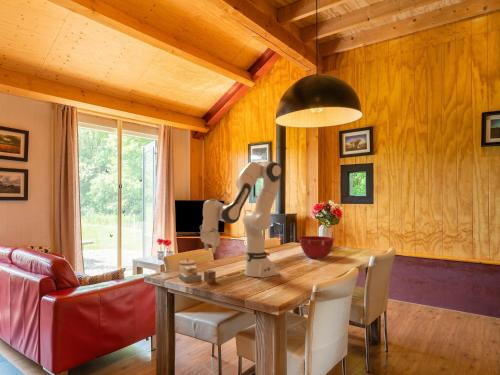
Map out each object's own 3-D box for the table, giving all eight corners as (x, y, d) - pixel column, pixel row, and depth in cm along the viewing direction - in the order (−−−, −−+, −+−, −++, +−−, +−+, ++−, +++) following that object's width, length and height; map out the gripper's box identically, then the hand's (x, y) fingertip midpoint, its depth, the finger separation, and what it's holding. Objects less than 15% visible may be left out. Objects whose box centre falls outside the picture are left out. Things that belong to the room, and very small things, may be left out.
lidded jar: (179, 276, 194) (179, 261, 195) (178, 272, 205) (178, 257, 205) (197, 275, 197) (197, 260, 197) (195, 271, 208) (195, 257, 208)
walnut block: (211, 280, 188) (212, 269, 188) (215, 282, 183) (215, 271, 184) (203, 281, 185) (204, 270, 185) (207, 283, 181) (207, 272, 181)
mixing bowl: (292, 254, 270) (292, 236, 270) (322, 253, 279) (322, 235, 279) (308, 261, 243) (308, 241, 243) (341, 259, 252) (341, 239, 252)
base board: (195, 276, 196) (195, 271, 196) (201, 280, 187) (201, 275, 187) (179, 278, 191) (179, 273, 191) (184, 282, 182) (184, 277, 182)
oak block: (193, 272, 193) (193, 265, 193) (197, 274, 188) (197, 267, 188) (183, 273, 190) (183, 266, 190) (187, 275, 185) (187, 268, 185)
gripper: (223, 229, 178) (222, 254, 177) (208, 225, 195) (208, 248, 195) (212, 229, 174) (212, 255, 174) (198, 226, 192) (198, 249, 192)
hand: (210, 251), depth 185 cm, fingers open, 8 cm apart
